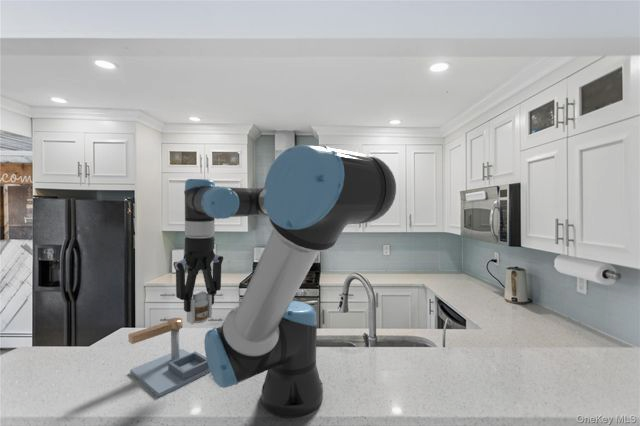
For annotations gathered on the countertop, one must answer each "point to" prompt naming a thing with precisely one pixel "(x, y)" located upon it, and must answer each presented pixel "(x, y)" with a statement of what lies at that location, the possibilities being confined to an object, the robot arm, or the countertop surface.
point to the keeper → (155, 330)
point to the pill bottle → (200, 307)
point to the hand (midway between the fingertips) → (199, 319)
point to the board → (171, 369)
